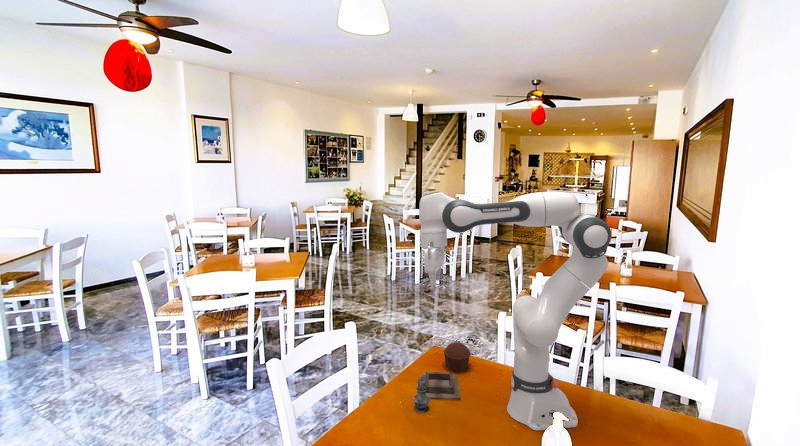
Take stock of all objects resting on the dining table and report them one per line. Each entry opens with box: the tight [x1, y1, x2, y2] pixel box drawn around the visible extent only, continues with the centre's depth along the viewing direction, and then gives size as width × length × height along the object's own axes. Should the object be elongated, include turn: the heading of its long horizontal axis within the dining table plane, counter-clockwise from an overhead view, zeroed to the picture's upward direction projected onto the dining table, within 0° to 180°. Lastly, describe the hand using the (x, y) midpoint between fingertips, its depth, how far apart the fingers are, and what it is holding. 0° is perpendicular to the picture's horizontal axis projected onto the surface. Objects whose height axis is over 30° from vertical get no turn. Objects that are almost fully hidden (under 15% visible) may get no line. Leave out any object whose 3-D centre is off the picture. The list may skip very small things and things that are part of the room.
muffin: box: [443, 341, 472, 373], centre depth 163 cm, size 12×11×10 cm
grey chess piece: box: [412, 377, 431, 414], centre depth 135 cm, size 6×6×12 cm
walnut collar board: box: [419, 371, 462, 401], centre depth 148 cm, size 15×15×4 cm
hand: (435, 282), depth 130 cm, fingers open, 8 cm apart
